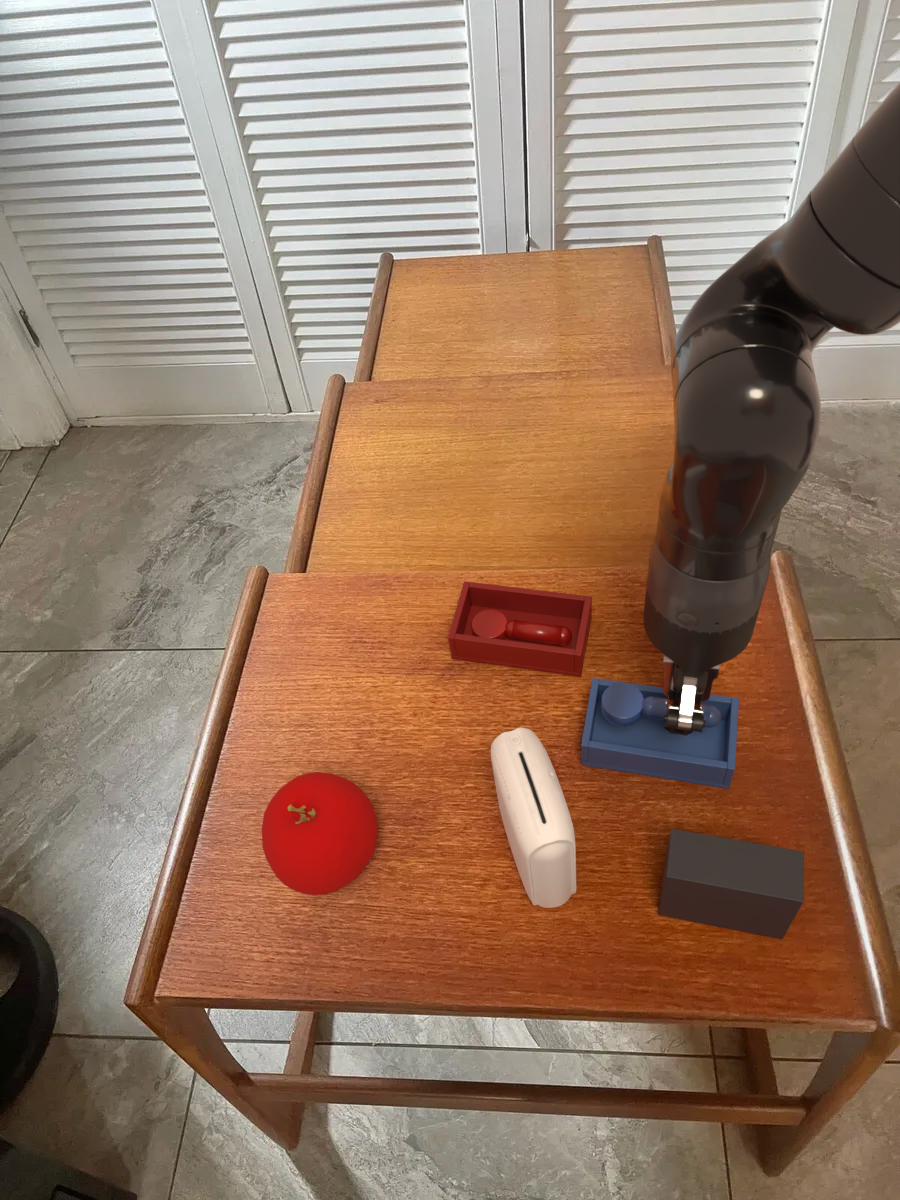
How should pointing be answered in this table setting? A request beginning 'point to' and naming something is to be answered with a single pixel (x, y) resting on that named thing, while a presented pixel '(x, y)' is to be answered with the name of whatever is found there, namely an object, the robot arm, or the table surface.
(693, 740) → the blue bin
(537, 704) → the table surface
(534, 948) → the table surface
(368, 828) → the fruit
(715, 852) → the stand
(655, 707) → the blue spoon
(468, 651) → the red bin
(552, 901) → the photo printer
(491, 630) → the red spoon
